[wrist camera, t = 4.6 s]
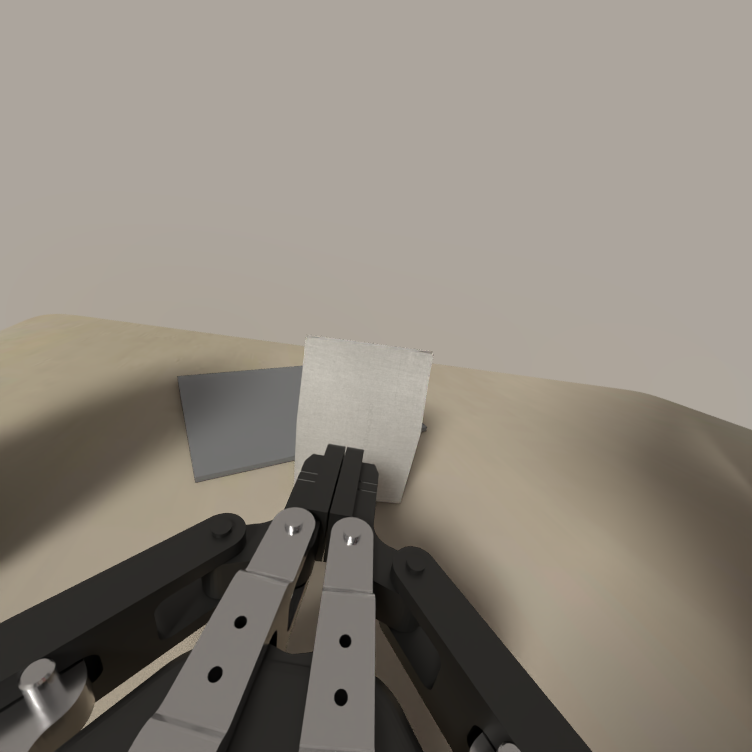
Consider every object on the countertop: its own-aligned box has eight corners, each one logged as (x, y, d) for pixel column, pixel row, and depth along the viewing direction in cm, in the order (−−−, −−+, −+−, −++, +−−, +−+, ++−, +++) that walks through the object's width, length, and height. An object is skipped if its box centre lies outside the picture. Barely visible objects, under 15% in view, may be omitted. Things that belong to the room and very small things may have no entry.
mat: (353, 364, 41) (354, 361, 41) (426, 430, 31) (427, 427, 31) (177, 380, 32) (177, 376, 32) (195, 482, 22) (194, 477, 21)
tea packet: (400, 503, 23) (438, 371, 17) (293, 493, 22) (299, 353, 17) (396, 460, 26) (428, 338, 20) (303, 451, 25) (311, 322, 20)
